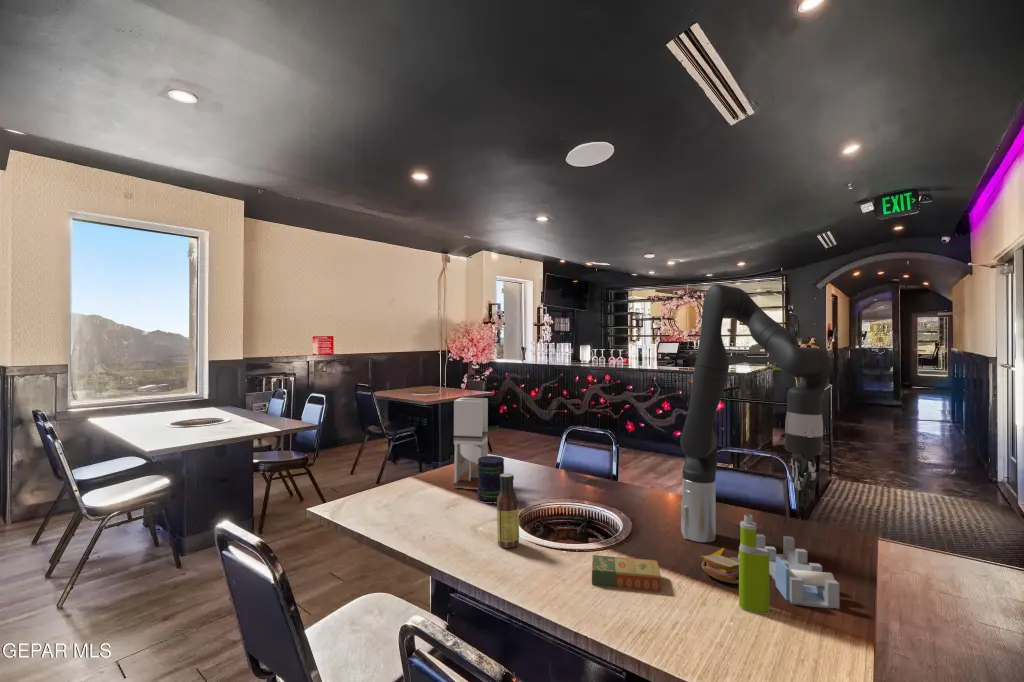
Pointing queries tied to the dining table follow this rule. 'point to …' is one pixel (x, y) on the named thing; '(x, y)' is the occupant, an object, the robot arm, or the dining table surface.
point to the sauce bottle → (507, 513)
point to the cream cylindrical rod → (812, 577)
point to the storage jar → (489, 477)
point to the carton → (626, 573)
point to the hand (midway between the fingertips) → (802, 505)
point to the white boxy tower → (469, 439)
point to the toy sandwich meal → (721, 567)
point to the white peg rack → (794, 585)
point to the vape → (752, 570)
